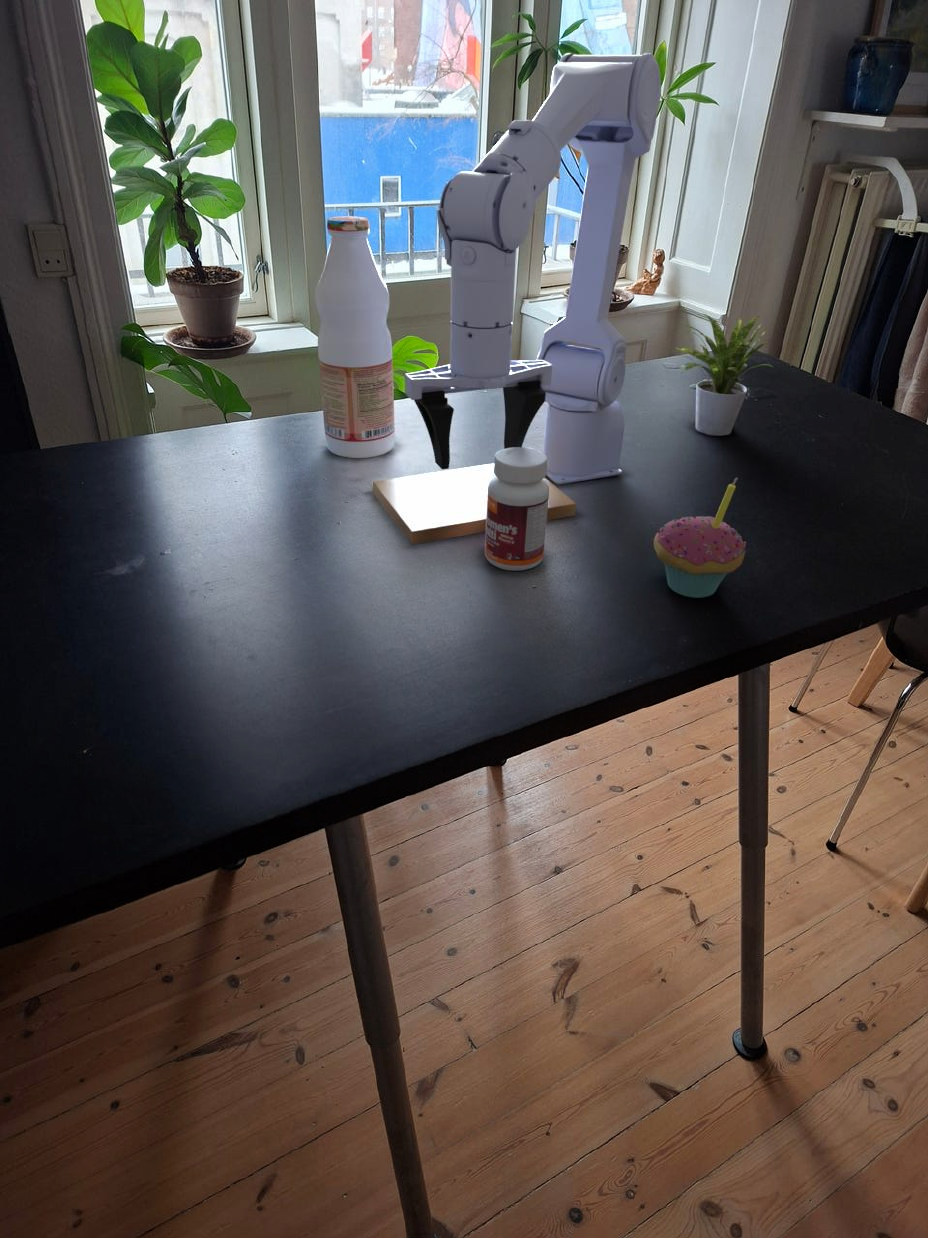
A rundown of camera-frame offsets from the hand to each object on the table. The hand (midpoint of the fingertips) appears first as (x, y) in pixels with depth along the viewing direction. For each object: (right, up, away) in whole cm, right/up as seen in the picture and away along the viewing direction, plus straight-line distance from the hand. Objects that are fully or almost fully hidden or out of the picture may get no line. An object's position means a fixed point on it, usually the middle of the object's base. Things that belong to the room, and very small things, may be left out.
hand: (477, 460), depth 81 cm
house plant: (+35, +12, +37) cm, 53 cm away
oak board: (0, -3, +14) cm, 14 cm away
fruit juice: (-15, +7, +28) cm, 33 cm away
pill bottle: (+4, -10, +3) cm, 11 cm away
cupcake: (+21, -13, -1) cm, 25 cm away
